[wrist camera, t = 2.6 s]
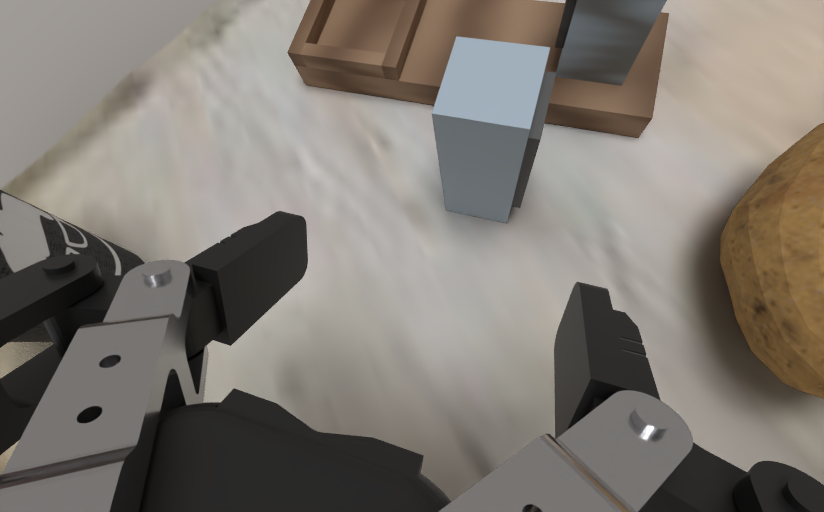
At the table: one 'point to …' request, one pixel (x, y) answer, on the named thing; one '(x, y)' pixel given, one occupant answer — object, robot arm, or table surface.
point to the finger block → (490, 124)
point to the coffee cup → (50, 247)
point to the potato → (782, 264)
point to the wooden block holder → (498, 21)
